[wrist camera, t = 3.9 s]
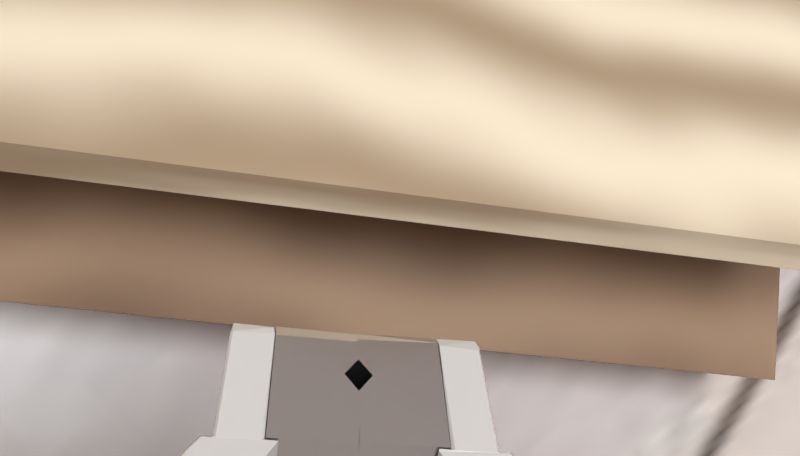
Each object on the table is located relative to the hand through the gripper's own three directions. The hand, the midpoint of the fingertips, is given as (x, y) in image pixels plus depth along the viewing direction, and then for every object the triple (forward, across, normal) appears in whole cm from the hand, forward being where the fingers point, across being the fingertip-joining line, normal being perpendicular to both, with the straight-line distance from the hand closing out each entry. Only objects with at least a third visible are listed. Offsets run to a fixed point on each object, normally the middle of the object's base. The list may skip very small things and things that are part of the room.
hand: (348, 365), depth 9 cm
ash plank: (+14, -1, +2) cm, 14 cm away
